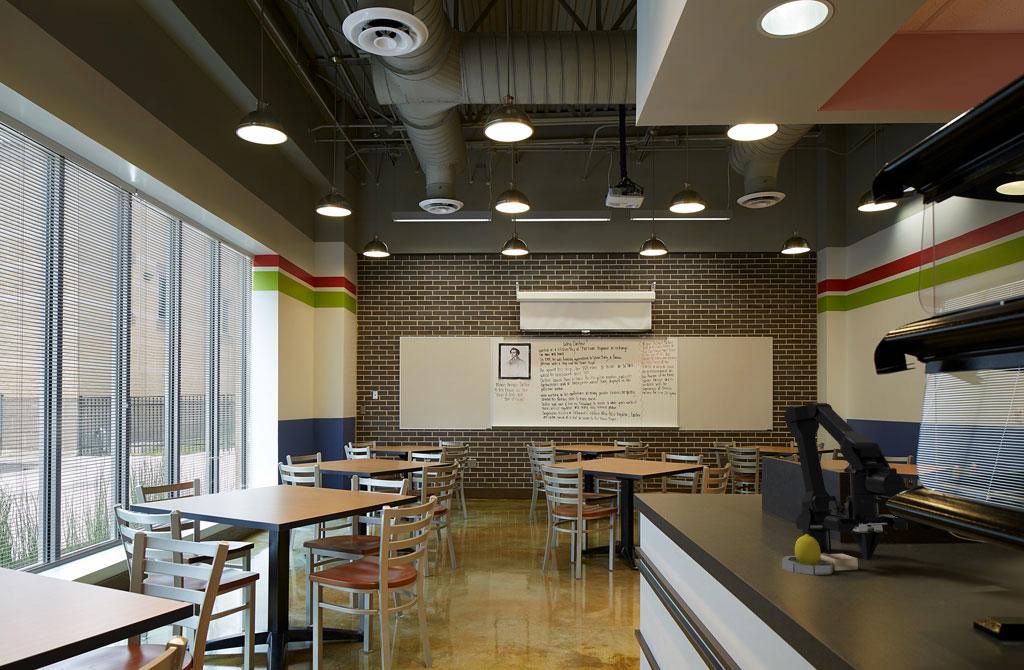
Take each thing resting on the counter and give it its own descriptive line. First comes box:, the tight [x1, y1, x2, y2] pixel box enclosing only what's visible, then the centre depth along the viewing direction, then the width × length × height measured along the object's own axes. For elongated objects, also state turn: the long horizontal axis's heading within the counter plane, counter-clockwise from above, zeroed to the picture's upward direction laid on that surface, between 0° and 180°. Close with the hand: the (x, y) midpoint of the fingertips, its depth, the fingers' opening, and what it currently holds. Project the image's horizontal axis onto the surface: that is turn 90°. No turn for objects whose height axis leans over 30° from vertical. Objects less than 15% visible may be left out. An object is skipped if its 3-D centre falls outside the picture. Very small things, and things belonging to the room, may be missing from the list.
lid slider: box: [820, 552, 859, 572], centre depth 159 cm, size 6×5×3 cm
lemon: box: [794, 534, 822, 565], centre depth 157 cm, size 6×6×8 cm
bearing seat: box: [781, 555, 834, 576], centre depth 157 cm, size 10×10×2 cm
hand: (867, 560), depth 160 cm, fingers closed
